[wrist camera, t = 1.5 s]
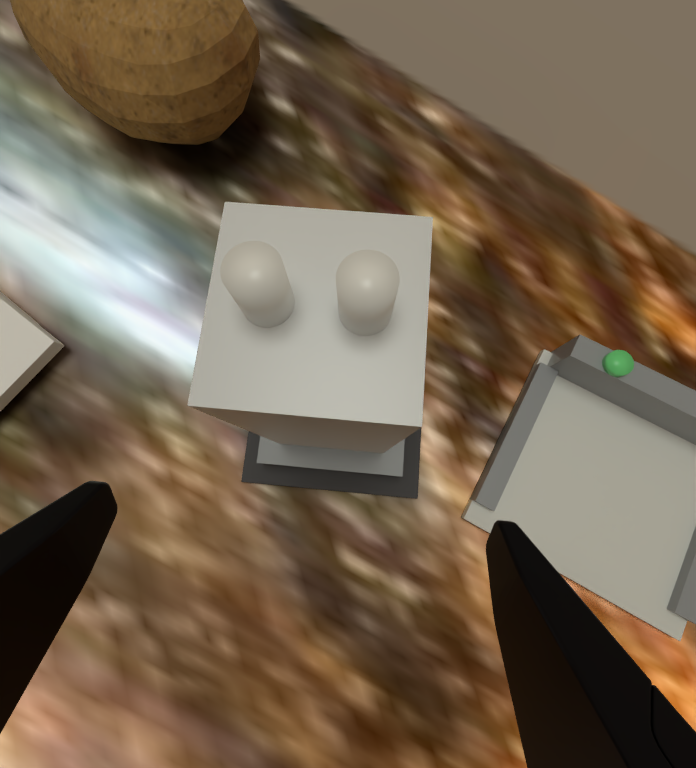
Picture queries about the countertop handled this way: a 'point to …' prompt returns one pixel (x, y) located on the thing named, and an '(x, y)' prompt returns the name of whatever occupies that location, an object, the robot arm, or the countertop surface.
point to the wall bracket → (21, 349)
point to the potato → (149, 61)
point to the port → (602, 479)
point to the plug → (317, 334)
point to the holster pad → (337, 473)
